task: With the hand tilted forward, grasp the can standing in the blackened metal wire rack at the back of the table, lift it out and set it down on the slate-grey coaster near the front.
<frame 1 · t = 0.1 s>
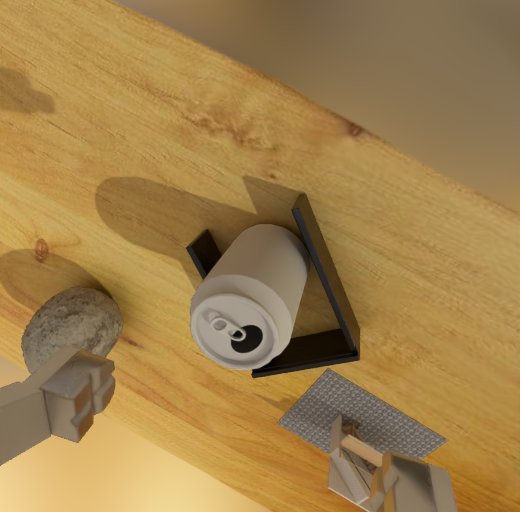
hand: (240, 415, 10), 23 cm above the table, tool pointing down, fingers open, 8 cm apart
can: (271, 256, 35), on the table
rack: (280, 277, 35), on the table
decorative stone: (103, 305, 43), on the table
architectural model: (357, 429, 42), on the table
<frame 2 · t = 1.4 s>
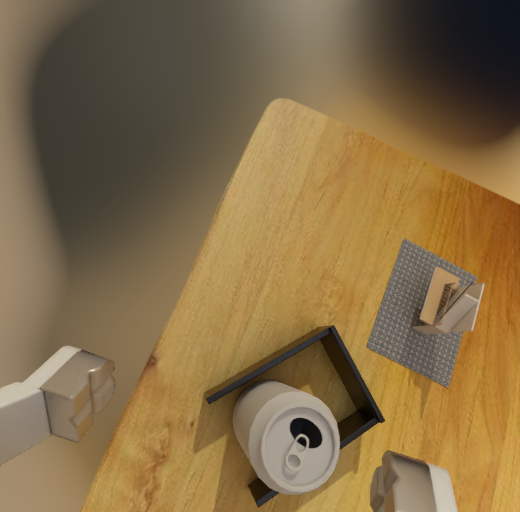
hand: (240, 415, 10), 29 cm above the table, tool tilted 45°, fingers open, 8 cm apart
can: (265, 416, 39), on the table
rack: (284, 404, 39), on the table
architectural model: (424, 310, 45), on the table
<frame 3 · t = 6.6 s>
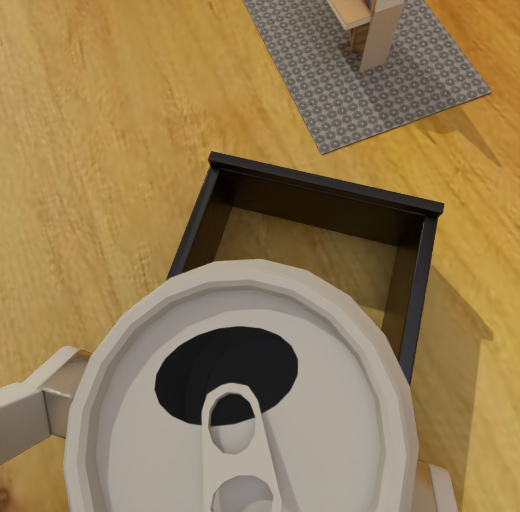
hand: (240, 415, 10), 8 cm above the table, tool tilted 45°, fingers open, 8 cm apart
can: (265, 396, 18), on the table
rack: (278, 349, 18), on the table
architectural model: (353, 39, 25), on the table
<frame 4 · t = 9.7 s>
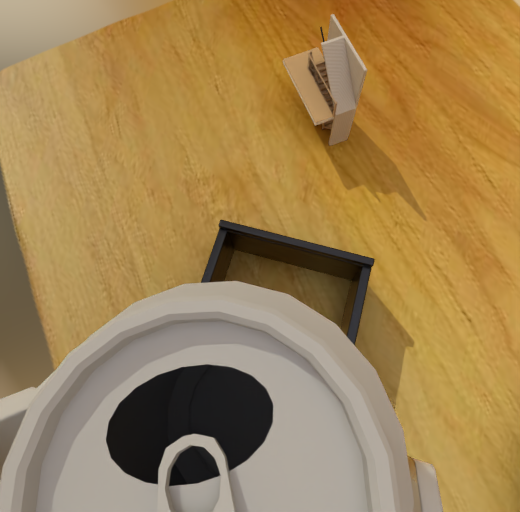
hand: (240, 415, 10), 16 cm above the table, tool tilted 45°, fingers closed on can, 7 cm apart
can: (253, 414, 17), point 9 cm above the table, touching gripper
rack: (266, 353, 26), on the table
architectural model: (325, 119, 33), on the table
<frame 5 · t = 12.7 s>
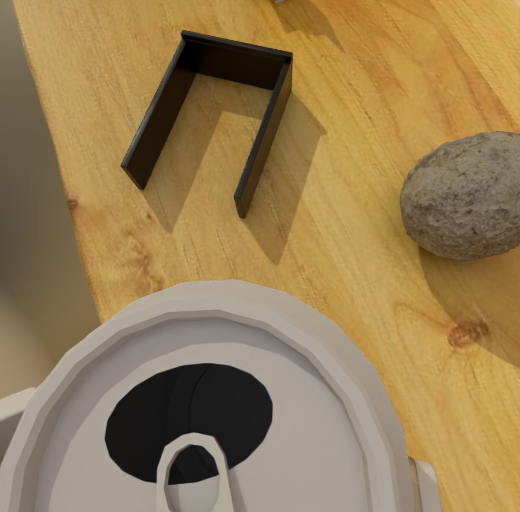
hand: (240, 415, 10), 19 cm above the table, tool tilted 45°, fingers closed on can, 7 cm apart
can: (253, 413, 17), point 12 cm above the table, touching gripper
rack: (216, 139, 35), on the table
decorative stone: (444, 226, 31), on the table
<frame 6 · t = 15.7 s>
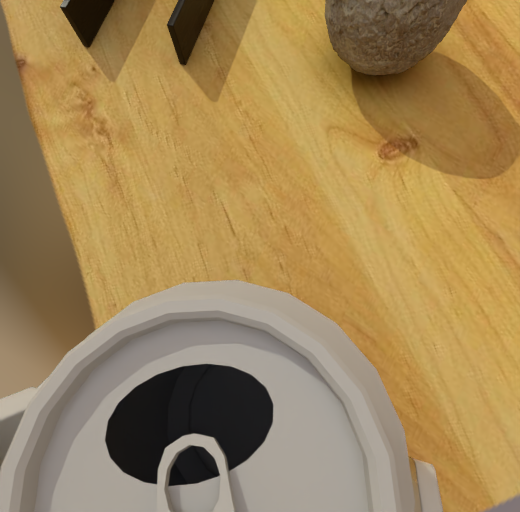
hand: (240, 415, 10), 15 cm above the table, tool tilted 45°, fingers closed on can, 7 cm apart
can: (253, 414, 17), point 8 cm above the table, touching gripper
rack: (160, 1, 36), on the table
decorative stone: (377, 61, 32), on the table
when the fingers open (7 cm above the table, at t = 18.3 s): can stays where it is, resting on coaster.
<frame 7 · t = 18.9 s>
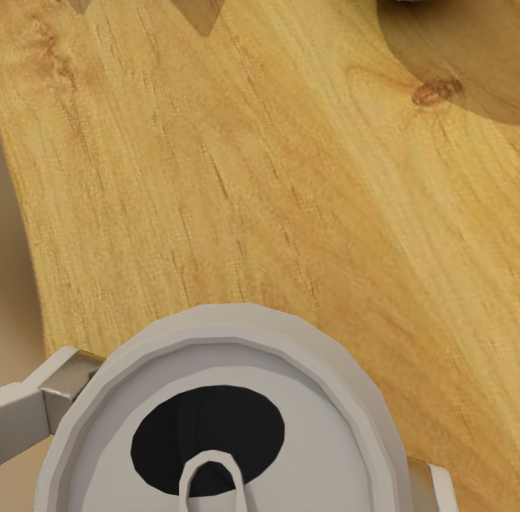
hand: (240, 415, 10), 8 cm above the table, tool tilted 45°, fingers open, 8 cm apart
can: (259, 420, 17), resting on coaster, touching gripper
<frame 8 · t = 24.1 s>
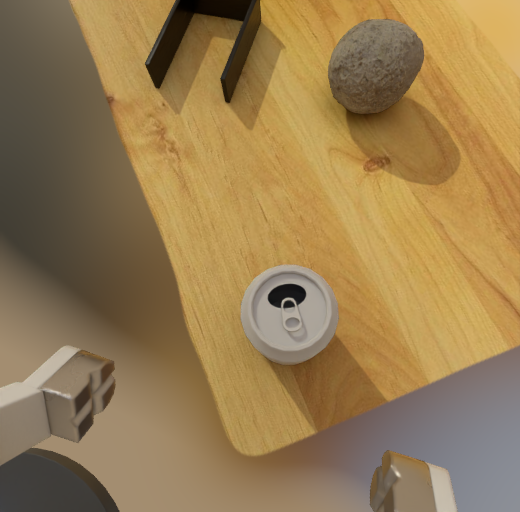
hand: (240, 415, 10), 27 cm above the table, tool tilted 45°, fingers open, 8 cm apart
can: (287, 327, 38), resting on coaster
rack: (208, 55, 50), on the table
decorative stone: (364, 102, 46), on the table
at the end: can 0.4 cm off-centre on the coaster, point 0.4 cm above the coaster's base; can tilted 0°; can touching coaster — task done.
